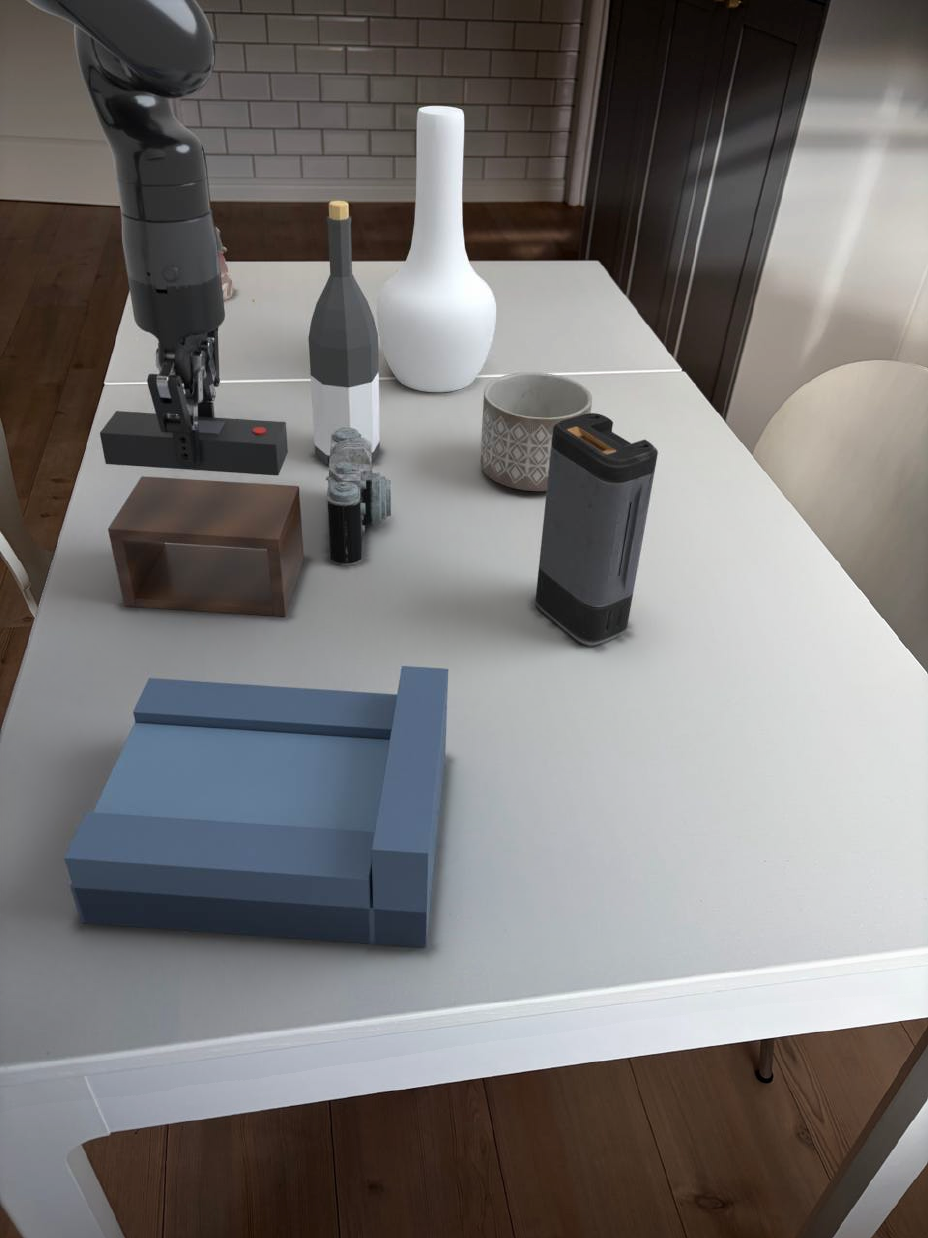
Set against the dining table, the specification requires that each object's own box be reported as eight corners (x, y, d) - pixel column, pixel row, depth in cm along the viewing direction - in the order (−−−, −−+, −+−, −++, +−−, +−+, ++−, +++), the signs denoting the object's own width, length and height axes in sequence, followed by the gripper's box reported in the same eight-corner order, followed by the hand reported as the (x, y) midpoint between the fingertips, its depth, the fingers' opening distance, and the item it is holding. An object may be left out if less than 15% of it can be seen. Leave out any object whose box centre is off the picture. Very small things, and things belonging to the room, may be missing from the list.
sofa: (81, 923, 69) (50, 827, 63) (159, 740, 83) (140, 648, 77) (426, 948, 68) (428, 853, 62) (445, 760, 82) (448, 668, 76)
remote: (105, 464, 91) (98, 431, 89) (121, 441, 95) (115, 409, 93) (278, 475, 91) (276, 442, 89) (288, 452, 94) (285, 420, 92)
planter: (462, 482, 119) (466, 402, 113) (504, 440, 129) (509, 364, 122) (560, 509, 115) (569, 427, 109) (596, 463, 125) (606, 385, 118)
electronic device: (633, 632, 97) (667, 449, 85) (587, 652, 94) (614, 466, 82) (573, 585, 103) (596, 407, 91) (528, 602, 100) (545, 422, 88)
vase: (500, 360, 149) (516, 102, 128) (482, 407, 136) (497, 128, 115) (392, 348, 151) (390, 92, 130) (364, 393, 138) (357, 117, 117)
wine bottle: (318, 471, 120) (303, 214, 102) (312, 440, 126) (297, 193, 108) (384, 467, 122) (381, 212, 103) (375, 437, 128) (371, 192, 110)
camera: (391, 565, 105) (391, 482, 99) (327, 565, 104) (322, 482, 98) (390, 494, 117) (389, 416, 110) (332, 494, 116) (328, 415, 110)
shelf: (124, 606, 97) (107, 528, 92) (155, 550, 105) (141, 476, 100) (285, 616, 97) (278, 539, 92) (304, 559, 105) (299, 485, 100)
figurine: (242, 295, 167) (234, 221, 160) (206, 304, 163) (197, 229, 156) (217, 284, 171) (209, 211, 164) (181, 293, 167) (171, 219, 159)
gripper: (154, 238, 88) (179, 415, 98) (99, 293, 76) (133, 487, 87) (238, 243, 88) (254, 420, 98) (195, 299, 76) (218, 493, 87)
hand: (197, 451), depth 92 cm, fingers closed on remote, 4 cm apart
